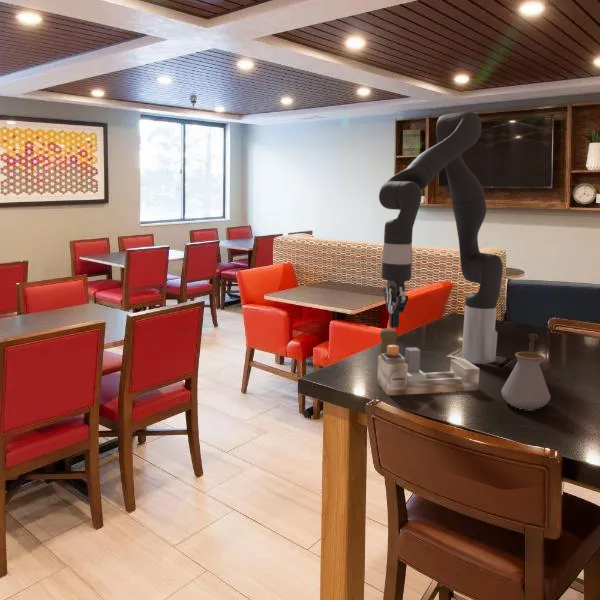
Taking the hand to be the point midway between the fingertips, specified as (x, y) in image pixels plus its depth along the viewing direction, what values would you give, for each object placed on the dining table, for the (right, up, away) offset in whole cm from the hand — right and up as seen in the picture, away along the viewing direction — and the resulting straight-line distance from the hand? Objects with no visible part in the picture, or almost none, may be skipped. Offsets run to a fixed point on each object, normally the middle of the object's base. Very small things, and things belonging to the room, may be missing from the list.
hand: (393, 327), depth 155 cm
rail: (+10, -16, +5) cm, 20 cm away
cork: (+2, -13, +25) cm, 28 cm away
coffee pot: (+34, -18, -2) cm, 38 cm away
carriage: (+5, -13, +4) cm, 15 cm away
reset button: (0, -7, +1) cm, 7 cm away
